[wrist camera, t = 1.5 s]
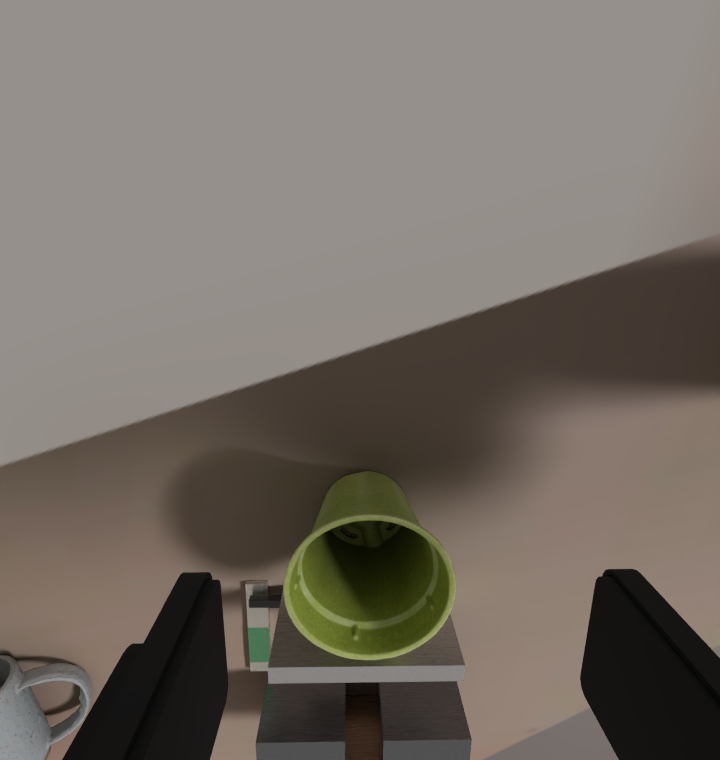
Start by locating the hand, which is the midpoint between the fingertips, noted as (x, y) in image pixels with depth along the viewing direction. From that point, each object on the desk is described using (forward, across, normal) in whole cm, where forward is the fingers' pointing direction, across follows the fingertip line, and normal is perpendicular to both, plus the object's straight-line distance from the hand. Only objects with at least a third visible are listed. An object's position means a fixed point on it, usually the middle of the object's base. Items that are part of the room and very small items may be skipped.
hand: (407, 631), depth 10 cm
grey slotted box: (+22, 0, +22) cm, 31 cm away
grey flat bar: (+22, +1, +18) cm, 28 cm away
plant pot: (+22, 0, +10) cm, 24 cm away
